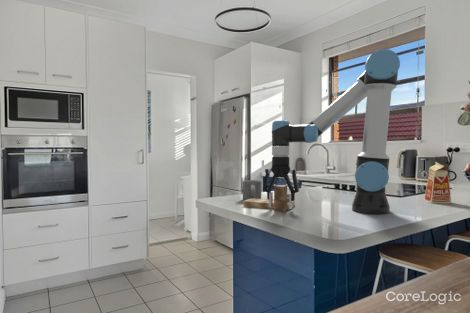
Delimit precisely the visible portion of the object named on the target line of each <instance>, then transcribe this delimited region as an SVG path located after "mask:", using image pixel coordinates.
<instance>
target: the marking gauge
mask: <svg viewBox="0 0 470 313" xmlns="http://www.w3.org/2000/svg"><path fill="white" fill-rule="evenodd" d="M289 194H290V193H288V185H287V184H285V185H284V184H277V185H273V200H274V209H273V212H277V213H285V212H287V211H288V210H287V202H289Z"/></svg>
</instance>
